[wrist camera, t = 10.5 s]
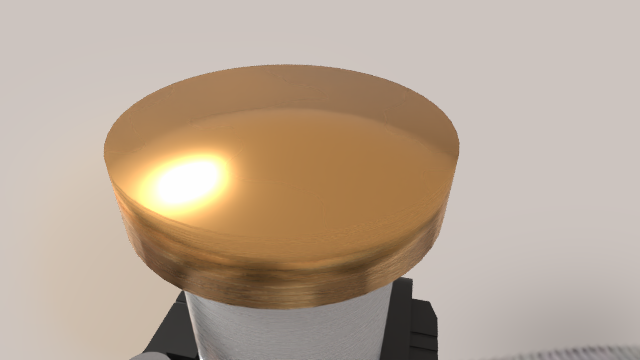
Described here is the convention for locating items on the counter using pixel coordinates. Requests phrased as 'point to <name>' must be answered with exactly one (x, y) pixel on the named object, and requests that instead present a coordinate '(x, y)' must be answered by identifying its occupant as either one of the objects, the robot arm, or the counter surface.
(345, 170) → the pin
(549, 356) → the counter surface
